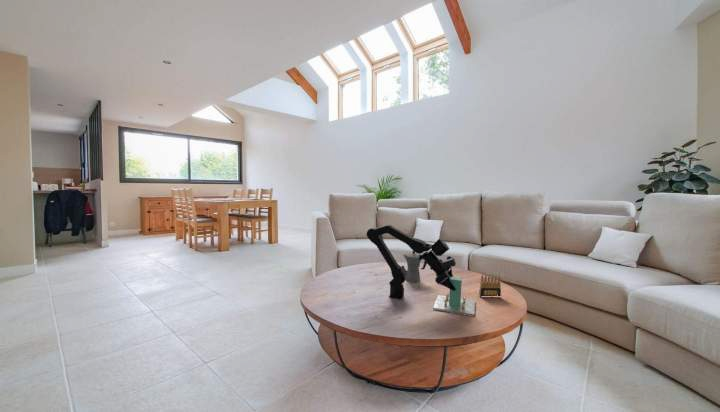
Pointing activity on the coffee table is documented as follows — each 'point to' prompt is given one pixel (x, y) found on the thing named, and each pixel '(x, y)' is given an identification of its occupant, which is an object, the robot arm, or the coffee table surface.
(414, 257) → the coffeepot
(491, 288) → the ammunition clip
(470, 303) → the chassis
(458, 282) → the green block
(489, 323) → the coffee table surface
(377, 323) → the coffee table surface
